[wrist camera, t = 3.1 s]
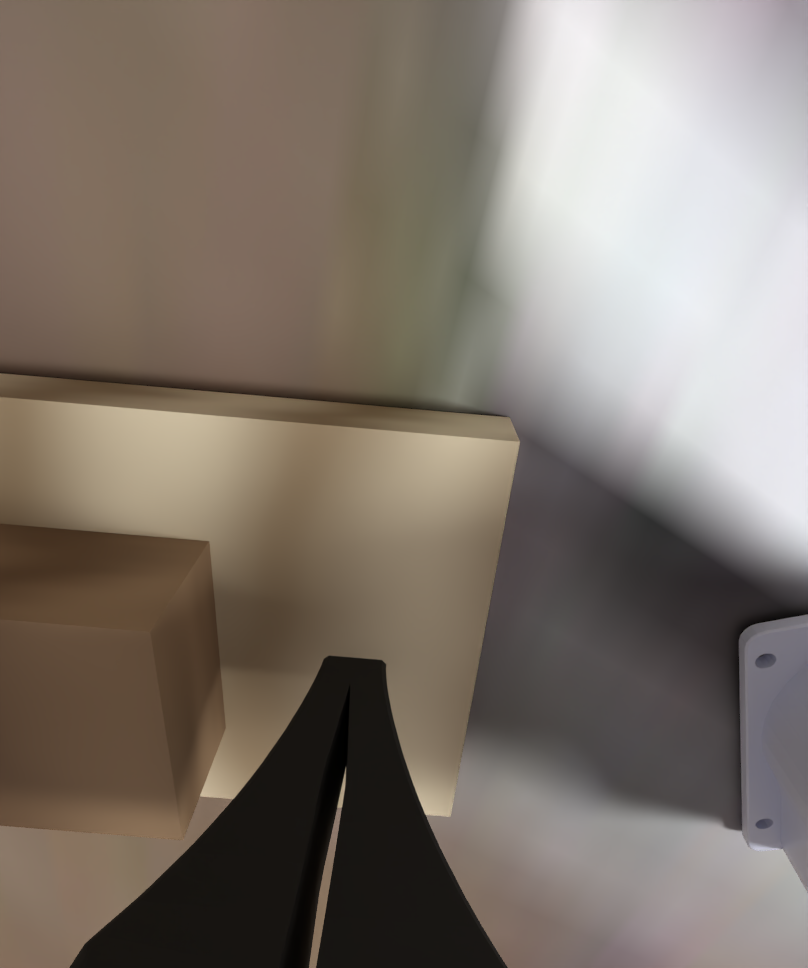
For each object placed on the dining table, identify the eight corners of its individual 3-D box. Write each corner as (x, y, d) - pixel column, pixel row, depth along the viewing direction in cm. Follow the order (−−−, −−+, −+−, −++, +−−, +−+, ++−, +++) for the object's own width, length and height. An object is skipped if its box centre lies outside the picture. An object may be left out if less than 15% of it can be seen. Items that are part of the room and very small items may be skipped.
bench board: (509, 417, 12) (520, 441, 11) (448, 771, 18) (450, 816, 16) (-472, 332, 12) (-581, 346, 11) (-240, 714, 18) (-294, 756, 16)
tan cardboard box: (209, 541, 12) (150, 632, 10) (225, 728, 15) (182, 840, 12) (-148, 510, 12) (-307, 593, 10) (-69, 703, 15) (-176, 811, 12)
